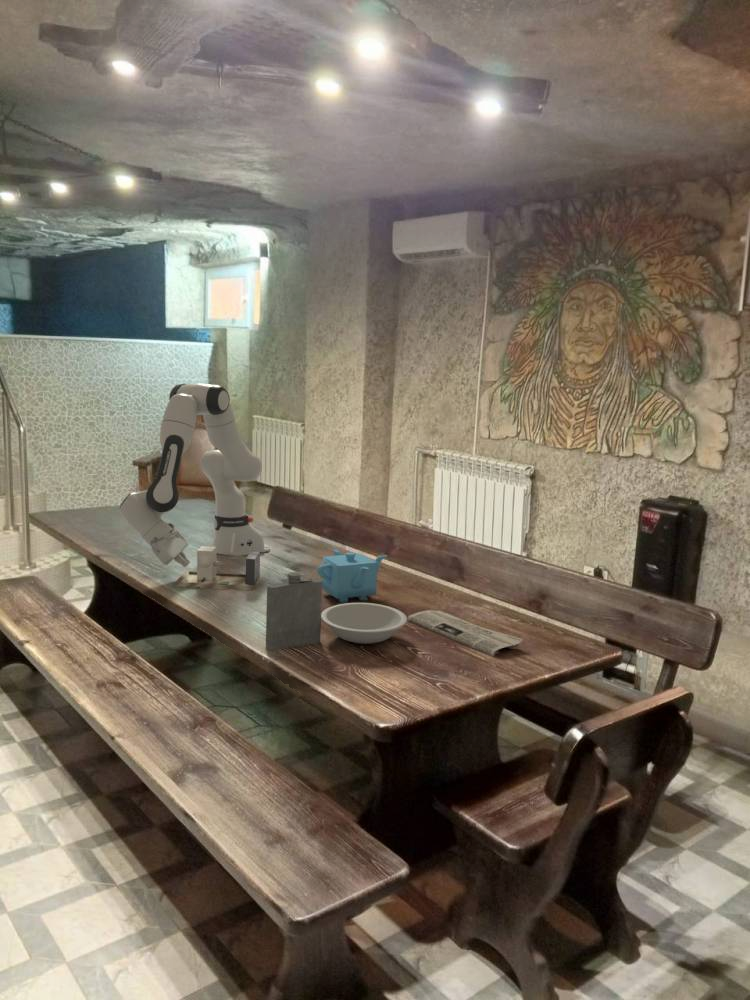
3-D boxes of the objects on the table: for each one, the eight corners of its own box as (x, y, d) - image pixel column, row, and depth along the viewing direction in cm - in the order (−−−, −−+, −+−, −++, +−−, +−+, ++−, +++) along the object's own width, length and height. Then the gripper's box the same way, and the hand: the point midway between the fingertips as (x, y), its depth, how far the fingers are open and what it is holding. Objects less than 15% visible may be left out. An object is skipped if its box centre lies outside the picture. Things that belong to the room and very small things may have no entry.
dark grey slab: (245, 585, 257) (245, 558, 255) (250, 576, 267) (251, 550, 265) (254, 585, 257) (254, 559, 255) (259, 576, 267) (260, 551, 265)
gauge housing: (195, 582, 256) (195, 552, 255) (201, 574, 265) (201, 546, 263) (216, 583, 256) (216, 553, 254) (221, 575, 265) (222, 547, 263)
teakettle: (312, 601, 249) (313, 556, 246) (332, 585, 266) (334, 543, 264) (368, 609, 243) (370, 563, 241) (385, 592, 261) (387, 549, 258)
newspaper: (406, 622, 235) (407, 610, 234) (435, 614, 243) (436, 603, 242) (497, 659, 209) (498, 647, 208) (526, 650, 217) (527, 638, 216)
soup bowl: (410, 655, 208) (412, 632, 206) (320, 654, 206) (321, 630, 204) (400, 624, 231) (402, 603, 230) (319, 623, 229) (320, 601, 228)
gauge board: (175, 586, 256) (175, 579, 256) (184, 576, 268) (184, 569, 268) (253, 590, 256) (253, 584, 256) (260, 580, 268) (260, 573, 267)
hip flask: (268, 651, 206) (270, 578, 202) (262, 646, 209) (264, 574, 205) (322, 642, 214) (324, 572, 210) (315, 637, 217) (317, 568, 214)
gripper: (155, 536, 249) (186, 567, 251) (173, 522, 269) (201, 551, 271) (141, 548, 250) (172, 579, 252) (160, 534, 270) (188, 562, 272)
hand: (187, 564), depth 261 cm, fingers closed
